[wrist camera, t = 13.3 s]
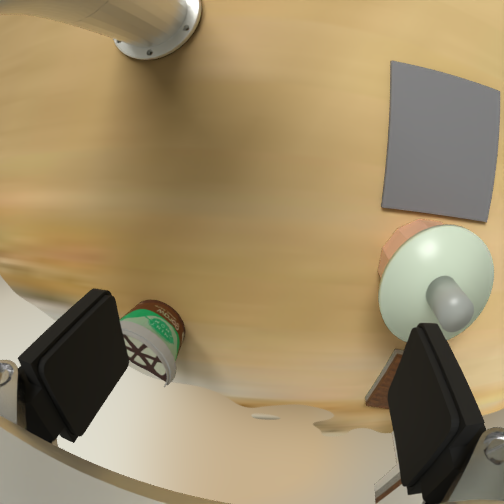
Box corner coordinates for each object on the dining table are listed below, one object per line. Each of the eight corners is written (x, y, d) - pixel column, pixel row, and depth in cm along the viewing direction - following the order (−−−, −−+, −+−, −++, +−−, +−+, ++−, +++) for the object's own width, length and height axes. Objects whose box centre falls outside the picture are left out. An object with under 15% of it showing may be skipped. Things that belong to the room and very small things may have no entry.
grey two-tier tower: (395, 348, 43) (439, 570, 11) (446, 358, 43) (508, 546, 11) (365, 397, 48) (376, 590, 16) (414, 403, 47) (444, 576, 15)
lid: (391, 217, 30) (409, 236, 24) (503, 232, 28) (530, 251, 22) (365, 338, 35) (373, 372, 30) (467, 340, 33) (484, 368, 28)
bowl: (387, 214, 36) (403, 233, 30) (466, 225, 35) (491, 243, 28) (371, 300, 41) (380, 329, 35) (445, 304, 39) (463, 331, 33)
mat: (390, 61, 29) (391, 60, 29) (497, 91, 27) (500, 91, 27) (380, 206, 36) (382, 207, 36) (484, 220, 34) (486, 222, 33)
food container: (207, 323, 47) (186, 367, 38) (189, 346, 49) (167, 389, 40) (139, 277, 46) (105, 312, 36) (126, 304, 48) (94, 339, 39)
